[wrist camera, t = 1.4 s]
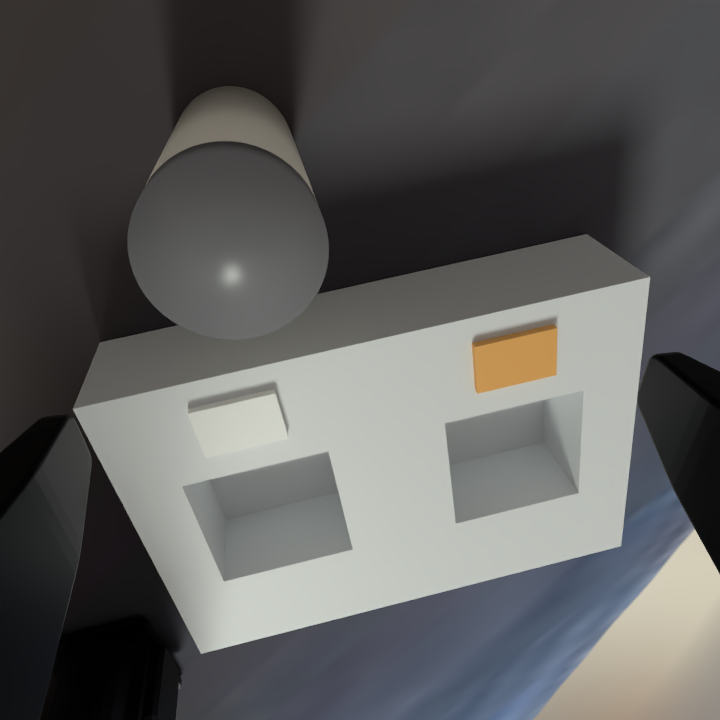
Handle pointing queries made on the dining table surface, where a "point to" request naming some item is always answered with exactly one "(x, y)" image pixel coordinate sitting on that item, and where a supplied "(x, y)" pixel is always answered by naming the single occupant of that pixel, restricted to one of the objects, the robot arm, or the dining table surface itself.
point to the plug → (229, 221)
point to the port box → (378, 439)
